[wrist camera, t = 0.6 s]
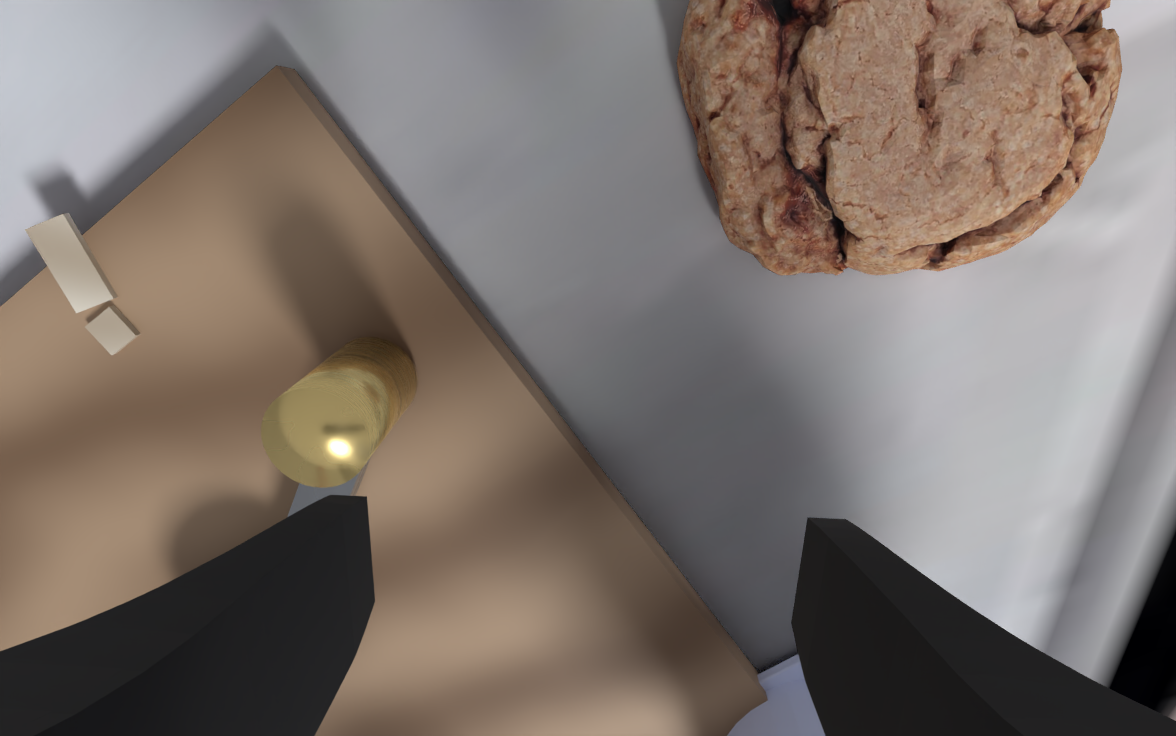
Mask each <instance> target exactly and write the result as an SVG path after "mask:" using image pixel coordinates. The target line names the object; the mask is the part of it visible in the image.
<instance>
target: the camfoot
mask: <svg viewBox="0 0 1176 736" xmlns="http://www.w3.org/2000/svg"><path fill="white" fill-rule="evenodd" d="M416 391H417V374H416V370H415V367H414V365H413V363H412V361H411V359H410V358H409V357H408V355H407V354H406V353H405V352H404V351H403V350H402V349H401V348H400V347H398V346H397V345H395V344H394V343H392V342H390V341H388V340H385V339H382V338H377V337H362V338H358V339H354V340H352V341H350V342H348V343H347V344H345V345H344V346H343V347H341V348H340V349H339V350H338V351H336V352H335V353H334V354H333V355H331V356H330V357H329V358H327V359H326V360H325V361H324V362H322V363H321V364H320V365H319V366H317V367H316V368H315V369H314V370H312V371H311V372H310V373H308V374H307V375H306V376H305V377H303V378H302V379H301V380H300V381H298V382H297V383H296V384H294V385H293V386H292V387H291V388H289V389H288V390H287V391H286V392H284V393H283V394H282V395H280V396H279V397H278V398H277V399H276V400H274V401H273V402H272V403H271V405H270V406H269V407H268V409H267V410H266V412H265V414H264V417H263V420H262V424H261V438H262V443H263V446H264V449H265V451H266V453H267V455H268V457H269V458H270V460H271V462H272V463H273V464H274V465H275V466H276V467H277V468H278V469H279V470H280V471H281V472H282V473H283V474H284V475H286V476H287V477H289V478H290V479H292V480H294V481H296V482H298V483H299V486H298V489H297V491H296V494H295V497H294V500H293V502H292V505H291V508H290V511H289V513H288V516H287V517H289V516H290V515H292V514H294V513H296V512H297V511H299V510H301V509H303V508H305V507H306V506H308V505H310V504H312V503H314V502H316V501H318V500H320V499H322V498H324V497H326V496H329V495H347V496H356V494H357V491H358V489H359V486H360V484H361V481H362V479H363V476H364V474H365V471H366V469H367V466H368V463H369V461H370V458H371V456H372V454H373V453H374V452H375V450H376V449H377V448H378V446H379V445H380V444H381V442H382V441H383V440H384V438H385V437H386V436H387V434H388V433H389V432H390V430H391V429H392V428H393V426H394V425H395V424H396V422H397V421H398V420H399V418H400V417H401V416H402V414H403V413H404V412H405V410H406V409H407V408H408V406H409V405H410V404H411V402H412V401H413V399H414V397H415V394H416Z"/></svg>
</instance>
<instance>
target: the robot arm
mask: <svg viewBox="0 0 1176 736" xmlns="http://www.w3.org/2000/svg"><path fill="white" fill-rule="evenodd" d="M374 603H375V593H374V580H373V567H372V554H371V541H370V529H369V516H368V503H367V496H347V495H329V496H326V497H324V498H322V499H320V500H318V501H316V502H314V503H312V504H310V505H308V506H306V507H305V508H303V509H301V510H299V511H297V512H296V513H294V514H292V515H290V516H289V517H287V518H285V519H283V520H282V521H280V522H278V523H276V524H275V525H273V526H271V527H270V528H268V529H266V530H264V531H262V532H261V533H259V534H257V535H255V536H254V537H252V538H250V539H248V540H247V541H245V542H243V543H241V544H240V545H238V546H236V547H234V548H233V549H231V550H229V551H227V552H225V553H223V554H222V555H220V556H218V557H216V558H214V559H212V560H210V561H208V562H206V563H204V564H202V565H200V566H199V567H197V568H195V569H193V570H191V571H189V572H187V573H185V574H183V575H181V576H179V577H177V578H175V579H174V580H172V581H170V582H168V583H166V584H164V585H162V586H160V587H158V588H156V589H154V590H151V591H149V592H147V593H145V594H143V595H141V596H139V597H136V598H134V599H132V600H130V601H128V602H125V603H123V604H121V605H118V606H116V607H114V608H111V609H109V610H107V611H104V612H102V613H100V614H97V615H95V616H93V617H90V618H88V619H86V620H83V621H81V622H78V623H76V624H73V625H71V626H68V627H65V628H63V629H60V630H57V631H54V632H52V633H49V634H46V635H43V636H41V637H38V638H35V639H33V640H30V641H27V642H24V643H22V644H19V645H16V646H13V647H11V648H8V649H5V650H2V651H0V736H315V734H316V732H317V730H318V728H319V727H320V725H321V723H322V721H323V719H324V717H325V715H326V713H327V711H328V709H329V707H330V706H331V704H332V702H333V700H334V698H335V696H336V694H337V692H338V690H339V688H340V686H341V684H342V682H343V680H344V678H345V676H346V674H347V672H348V670H349V668H350V666H351V664H352V662H353V660H354V658H355V656H356V654H357V651H358V648H359V646H360V643H361V640H362V638H363V635H364V632H365V629H366V627H367V624H368V621H369V618H370V615H371V612H372V609H373V606H374ZM791 623H792V628H793V632H794V637H795V641H796V646H797V650H798V654H797V655H795V656H793V657H791V658H789V659H787V660H785V661H784V662H782V663H780V664H778V665H776V666H774V667H772V668H770V669H768V670H766V671H764V672H762V673H760V674H758V675H757V677H758V680H759V683H760V685H761V686H762V687H763V688H764V690H765V691H766V695H767V699H768V701H766V702H764V703H763V704H761V705H759V706H758V707H756V708H754V709H753V710H751V711H750V712H749V713H748V714H746V715H745V716H744V717H743V718H742V719H741V720H740V721H738V722H737V723H736V724H735V726H734V727H733V728H732V730H731V731H730V732H729V734H728V735H727V736H1176V721H1175V720H1173V719H1170V718H1168V717H1166V716H1164V715H1162V714H1160V713H1158V712H1156V711H1154V710H1152V709H1150V708H1148V707H1145V706H1143V705H1141V704H1139V703H1137V702H1135V701H1133V700H1131V699H1129V698H1127V697H1125V696H1123V695H1120V694H1118V693H1117V692H1115V691H1113V690H1111V689H1109V688H1107V687H1105V686H1103V685H1101V684H1099V683H1097V682H1095V681H1093V680H1091V679H1089V678H1088V677H1086V676H1084V675H1082V674H1080V673H1078V672H1077V671H1075V670H1073V669H1071V668H1070V667H1068V666H1066V665H1064V664H1062V663H1061V662H1059V661H1057V660H1055V659H1053V658H1052V657H1050V656H1048V655H1046V654H1045V653H1043V652H1041V651H1039V650H1037V649H1036V648H1034V647H1032V646H1031V645H1029V644H1027V643H1026V642H1024V641H1022V640H1021V639H1019V638H1017V637H1016V636H1014V635H1012V634H1011V633H1009V632H1008V631H1006V630H1005V629H1003V628H1001V627H1000V626H998V625H997V624H995V623H994V622H992V621H991V620H989V619H988V618H986V617H984V616H983V615H981V614H980V613H978V612H977V611H975V610H974V609H972V608H971V607H969V606H968V605H966V604H965V603H963V602H962V601H960V600H959V599H957V598H956V597H954V596H953V595H952V594H950V593H949V592H947V591H946V590H944V589H943V588H942V587H940V586H939V585H937V584H936V583H935V582H933V581H932V580H930V579H929V578H928V577H926V576H925V575H923V574H922V573H921V572H919V571H918V570H917V569H915V568H914V567H912V566H911V565H910V564H908V563H907V562H906V561H904V560H903V559H902V558H900V557H899V556H897V555H896V554H895V553H893V552H892V551H891V550H889V549H888V548H887V547H885V546H884V545H883V544H881V543H880V542H878V541H877V540H876V539H874V538H873V537H872V536H870V535H869V534H867V533H866V532H865V531H863V530H862V529H860V528H859V527H857V526H856V525H854V524H853V523H851V522H849V521H848V520H846V519H827V518H808V519H807V525H806V532H805V538H804V545H803V551H802V557H801V564H800V570H799V577H798V583H797V590H796V596H795V603H794V609H793V616H792V622H791Z"/></svg>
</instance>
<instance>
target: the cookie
mask: <svg viewBox="0 0 1176 736" xmlns="http://www.w3.org/2000/svg"><path fill="white" fill-rule="evenodd" d="M1108 7H1110V0H690V1H689V4H688V8H687V11H686V15H685V19H684V24H683V30H682V36H681V42H680V46H679V52H678V58H677V68H678V75H679V80H680V85H681V90H682V95H683V99H684V102H685V106H686V110H687V113H688V115H689V118H690V120H691V123H692V125H693V128H694V132H695V135H696V139H697V142H698V157H699V160H700V162H701V164H702V167H703V169H704V171H705V173H706V175H707V177H708V180H709V182H710V184H711V187H712V188H713V190H714V192H715V196H716V199H717V202H718V205H719V215H720V221H721V224H722V226H723V229H724V231H725V233H726V235H727V237H728V239H729V241H730V242H731V243H733V244H734V245H735V246H737V247H738V248H740V249H742V250H744V251H747V252H749V253H751V254H753V255H754V256H755V258H756V259H757V260H758V261H759V262H760V263H761V264H762V266H763V267H765V268H767V269H768V270H770V271H772V272H774V273H776V274H778V275H796V274H798V273H801V272H802V273H817V272H824V273H826V274H831V273H832V274H834V275H838V274H840V273H842V272H844V271H843V269H845V268H848V267H849V268H852V269H854V270H857V271H861V272H864V273H867V274H872V275H886V274H895V273H900V272H904V271H908V270H912V269H925V270H933V271H941V270H945V269H949V268H953V267H956V266H959V265H963V264H967V263H970V262H973V261H976V260H978V259H982V258H985V257H988V256H992V255H995V254H998V253H1001V252H1003V251H1005V250H1008V249H1009V248H1011V247H1013V246H1014V245H1016V244H1017V243H1019V242H1020V241H1022V240H1024V239H1025V238H1027V237H1029V236H1031V235H1032V234H1033V233H1034V232H1035V231H1036V230H1037V229H1038V228H1040V227H1041V226H1042V225H1044V224H1045V223H1046V222H1047V221H1048V220H1049V219H1050V218H1051V217H1052V216H1053V215H1054V214H1055V213H1056V212H1057V211H1058V210H1059V209H1060V208H1061V207H1062V206H1063V205H1064V204H1065V203H1066V202H1067V201H1068V200H1069V199H1070V198H1071V197H1072V196H1073V194H1074V193H1075V192H1076V191H1077V190H1078V189H1079V188H1080V186H1081V184H1082V181H1083V178H1084V176H1085V174H1086V172H1087V170H1088V168H1089V167H1090V166H1091V165H1092V163H1093V162H1094V161H1095V159H1096V158H1097V155H1098V153H1099V150H1100V148H1101V146H1102V143H1103V141H1104V138H1105V133H1106V128H1107V126H1108V123H1109V120H1110V118H1111V115H1112V112H1113V108H1114V105H1115V102H1116V98H1117V92H1118V87H1119V82H1120V77H1121V72H1122V64H1121V55H1120V46H1119V36H1118V35H1117V33H1116V31H1115V29H1108V30H1106V29H1105V28H1102V21H1103V20H1102V14H1101V11H1102V10H1104V9H1106V8H1108Z"/></svg>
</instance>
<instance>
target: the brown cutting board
mask: <svg viewBox="0 0 1176 736" xmlns="http://www.w3.org/2000/svg"><path fill="white" fill-rule="evenodd" d="M25 231H26V232H27V234H28V235H29V237H30V239H31V240H32V242H33V244H34V245H35V247H36V248H37V250H38V252H39V253H40V255H41V257H42V258H43V260H44V261H45V263H46V265H47V266H46V267H45V268H44V269H43V270H42V271H41V272H40V273H38V274H37V275H36V276H35V277H34V278H33V279H32V280H30V281H29V282H28V283H27V284H26V285H25V286H24V287H22V288H21V289H20V290H19V291H18V292H17V293H16V294H14V295H13V296H12V297H11V298H10V299H9V300H8V301H6V302H5V303H4V304H3V305H2V306H1V307H0V651H2V650H5V649H8V648H11V647H13V646H16V645H19V644H22V643H24V642H27V641H30V640H33V639H35V638H38V637H41V636H43V635H46V634H49V633H52V632H54V631H57V630H60V629H63V628H65V627H68V626H71V625H73V624H76V623H78V622H81V621H83V620H86V619H88V618H90V617H93V616H95V615H97V614H100V613H102V612H104V611H107V610H109V609H111V608H114V607H116V606H118V605H121V604H123V603H125V602H128V601H130V600H132V599H134V598H136V597H139V596H141V595H143V594H145V593H147V592H149V591H151V590H154V589H156V588H158V587H160V586H162V585H164V584H166V583H168V582H170V581H172V580H174V579H175V578H177V577H179V576H181V575H183V574H185V573H187V572H189V571H191V570H193V569H195V568H197V567H199V566H200V565H202V564H204V563H206V562H208V561H210V560H212V559H214V558H216V557H218V556H220V555H222V554H223V553H225V552H227V551H229V550H231V549H233V548H234V547H236V546H238V545H240V544H241V543H243V542H245V541H247V540H248V539H250V538H252V537H254V536H255V535H257V534H259V533H261V532H262V531H264V530H266V529H268V528H270V527H271V526H273V525H275V524H276V523H278V522H280V521H282V520H283V519H285V518H287V516H288V513H289V511H290V508H291V505H292V502H293V500H294V497H295V494H296V491H297V489H298V486H299V483H298V482H296V481H294V480H292V479H290V478H289V477H287V476H286V475H284V474H283V473H282V472H281V471H280V470H279V469H278V468H277V467H276V466H275V465H274V464H273V463H272V462H271V460H270V458H269V457H268V455H267V453H266V451H265V449H264V446H263V443H262V438H261V424H262V420H263V417H264V414H265V412H266V410H267V409H268V407H269V406H270V405H271V403H272V402H273V401H274V400H276V399H277V398H278V397H279V396H280V395H282V394H283V393H284V392H286V391H287V390H288V389H289V388H291V387H292V386H293V385H294V384H296V383H297V382H298V381H300V380H301V379H302V378H303V377H305V376H306V375H307V374H308V373H310V372H311V371H312V370H314V369H315V368H316V367H317V366H319V365H320V364H321V363H322V362H324V361H325V360H326V359H327V358H329V357H330V356H331V355H333V354H334V353H335V352H336V351H338V350H339V349H340V348H341V347H343V346H344V345H345V344H347V343H348V342H350V341H352V340H354V339H358V338H362V337H377V338H382V339H385V340H388V341H390V342H392V343H394V344H395V345H397V346H398V347H400V348H401V349H402V350H403V351H404V352H405V353H406V354H407V355H408V357H409V358H410V359H411V361H412V363H413V365H414V367H415V370H416V374H417V391H416V394H415V397H414V399H413V401H412V402H411V404H410V405H409V406H408V408H407V409H406V410H405V412H404V413H403V414H402V416H401V417H400V418H399V420H398V421H397V422H396V424H395V425H394V426H393V428H392V429H391V430H390V432H389V433H388V434H387V436H386V437H385V438H384V440H383V441H382V442H381V444H380V445H379V446H378V448H377V449H376V450H375V452H374V453H373V454H372V456H371V458H370V461H369V463H368V466H367V469H366V471H365V474H364V476H363V479H362V481H361V484H360V486H359V489H358V491H357V494H356V496H367V503H368V516H369V529H370V541H371V554H372V567H373V580H374V593H375V603H374V606H373V609H372V612H371V615H370V618H369V621H368V624H367V627H366V629H365V632H364V635H363V638H362V640H361V643H360V646H359V648H358V651H357V654H356V656H355V658H354V660H353V662H352V664H351V666H350V668H349V670H348V672H347V674H346V676H345V678H344V680H343V682H342V684H341V686H340V688H339V690H338V692H337V694H336V696H335V698H334V700H333V702H332V704H331V706H330V707H329V709H328V711H327V713H326V715H325V717H324V719H323V721H322V723H321V725H320V727H319V728H318V730H317V732H316V734H315V736H727V735H728V734H729V732H730V731H731V730H732V728H733V727H734V726H735V724H736V723H737V722H738V721H740V720H741V719H742V718H743V717H744V716H745V715H746V714H748V713H749V712H750V711H751V710H753V709H754V708H756V707H758V706H759V705H761V704H763V703H764V702H766V701H768V699H767V695H766V691H765V690H764V688H763V687H762V686H761V685H760V683H759V680H758V677H757V675H758V674H759V673H758V672H757V671H756V669H755V668H754V667H753V665H752V664H751V663H750V662H749V660H748V659H747V658H746V656H745V655H744V654H743V652H742V651H741V650H740V649H739V647H738V646H737V645H736V643H735V642H734V641H733V639H732V638H731V637H730V636H729V634H728V633H727V632H726V630H725V629H724V628H723V626H722V625H721V624H720V623H719V621H718V620H717V619H716V617H715V616H714V615H713V613H712V612H711V611H710V610H709V608H708V607H707V606H706V604H705V603H704V602H703V600H702V599H701V598H700V597H699V595H698V594H697V593H696V591H695V590H694V589H693V587H692V586H691V585H690V583H689V582H688V581H687V580H686V578H685V577H684V576H683V574H682V573H681V572H680V570H679V569H678V568H677V567H676V565H675V564H674V563H673V561H672V560H671V559H670V557H669V556H668V555H667V554H666V552H665V551H664V550H663V548H662V547H661V546H660V544H659V543H658V542H657V541H656V539H655V538H654V537H653V535H652V534H651V533H650V531H649V530H648V529H647V528H646V526H645V525H644V524H643V522H642V521H641V520H640V518H639V517H638V516H637V515H636V513H635V512H634V511H633V509H632V508H631V507H630V505H629V504H628V503H627V501H626V500H625V499H624V498H623V496H622V495H621V494H620V492H619V491H618V490H617V488H616V487H615V486H614V485H613V483H612V482H611V481H610V479H609V478H608V477H607V475H606V474H605V473H604V472H603V470H602V469H601V468H600V466H599V465H598V464H597V462H596V461H595V460H594V459H593V457H592V456H591V455H590V453H589V452H588V451H587V449H586V448H585V447H584V446H583V444H582V443H581V442H580V440H579V439H578V438H577V436H576V435H575V434H574V433H573V431H572V430H571V429H570V427H569V426H568V425H567V423H566V422H565V421H564V420H563V418H562V417H561V416H560V414H559V413H558V412H557V410H556V409H555V408H554V406H553V405H552V404H551V403H550V401H549V400H548V399H547V397H546V396H545V395H544V393H543V392H542V391H541V390H540V388H539V387H538V386H537V384H536V383H535V382H534V380H533V379H532V378H531V377H530V375H529V374H528V373H527V371H526V370H525V369H524V367H523V366H522V365H521V364H520V362H519V361H518V360H517V358H516V357H515V356H514V354H513V353H512V352H511V351H510V349H509V348H508V347H507V345H506V344H505V343H504V341H503V340H502V339H501V338H500V336H499V335H498V334H497V332H496V331H495V330H494V328H493V327H492V326H491V324H490V323H489V322H488V321H487V319H486V318H485V317H484V315H483V314H482V313H481V311H480V310H479V309H478V308H477V306H476V305H475V304H474V302H473V301H472V300H471V298H470V297H469V296H468V295H467V293H466V292H465V291H464V289H463V288H462V287H461V285H460V284H459V283H458V282H457V280H456V279H455V278H454V276H453V275H452V274H451V272H450V271H449V270H448V269H447V267H446V266H445V265H444V263H443V262H442V261H441V259H440V258H439V257H438V256H437V254H436V253H435V252H434V250H433V249H432V248H431V246H430V245H429V244H428V242H427V241H426V240H425V239H424V237H423V236H422V235H421V233H420V232H419V231H418V229H417V228H416V227H415V226H414V224H413V223H412V222H411V220H410V219H409V218H408V216H407V215H406V214H405V213H404V211H403V210H402V209H401V207H400V206H399V205H398V203H397V202H396V201H395V200H394V198H393V197H392V196H391V194H390V193H389V192H388V190H387V189H386V188H385V187H384V185H383V184H382V183H381V181H380V180H379V179H378V177H377V176H376V175H375V174H374V172H373V171H372V170H371V168H370V167H369V166H368V164H367V163H366V162H365V161H364V159H363V158H362V157H361V155H360V154H359V153H358V151H357V150H356V149H355V147H354V146H353V145H352V144H351V142H350V141H349V140H348V138H347V137H346V136H345V134H344V133H343V132H342V131H341V129H340V128H339V127H338V125H337V124H336V123H335V121H334V120H333V119H332V118H331V116H330V115H329V114H328V112H327V111H326V110H325V108H324V107H323V106H322V105H321V103H320V102H319V101H318V99H317V98H316V97H315V95H314V94H313V93H312V92H311V90H310V89H309V88H308V86H307V85H306V84H305V82H304V81H303V80H302V79H301V77H300V76H299V75H298V73H297V72H296V71H295V69H291V68H286V67H281V66H277V65H276V66H275V67H274V68H273V69H272V70H271V71H269V72H268V73H267V74H266V75H265V76H264V77H263V78H261V79H260V80H259V81H258V82H257V83H256V84H255V85H253V86H252V87H251V88H250V89H249V90H248V91H247V92H245V93H244V94H243V95H242V96H241V97H240V98H239V99H237V100H236V101H235V102H234V103H233V104H232V105H231V106H229V107H228V108H227V109H226V110H225V111H224V112H223V113H221V114H220V115H219V116H218V117H217V118H216V119H215V120H213V121H212V122H211V123H210V124H209V125H208V126H207V127H205V128H204V129H203V130H202V131H201V132H200V133H199V134H197V135H196V136H195V137H194V138H193V139H192V140H191V141H189V142H188V143H187V144H186V145H185V146H184V147H183V148H181V149H180V150H179V151H178V152H177V153H176V154H175V155H173V156H172V157H171V158H170V159H169V160H168V161H167V162H165V163H164V164H163V165H162V166H161V167H160V168H158V169H157V170H156V171H155V172H154V173H153V174H152V175H150V176H149V177H148V178H147V179H146V180H145V181H144V182H142V183H141V184H140V185H139V186H138V187H137V188H136V189H134V190H133V191H132V192H131V193H130V194H129V195H128V196H126V197H125V198H124V199H123V200H122V201H121V202H120V203H118V204H117V205H116V206H115V207H114V208H113V209H112V210H110V211H109V212H108V213H107V214H106V215H105V216H104V217H102V218H101V219H100V220H99V221H98V222H97V223H96V224H94V225H93V226H92V227H91V228H90V229H89V230H88V231H86V232H85V233H84V234H83V235H81V233H80V231H79V230H78V228H77V226H76V225H75V223H74V221H73V220H72V218H71V216H70V214H69V213H65V214H61V215H59V216H56V217H54V218H52V219H49V220H47V221H44V222H42V223H40V224H37V225H35V226H33V227H30V228H28V229H25Z"/></svg>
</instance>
